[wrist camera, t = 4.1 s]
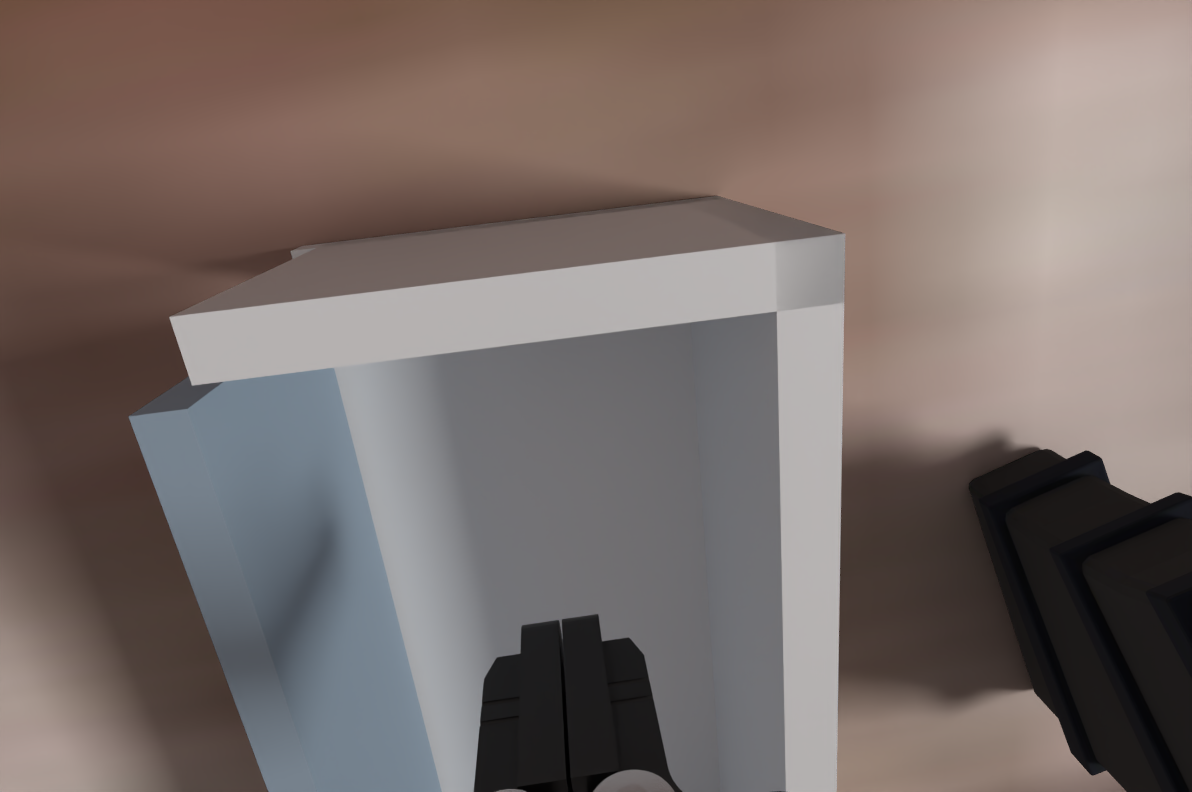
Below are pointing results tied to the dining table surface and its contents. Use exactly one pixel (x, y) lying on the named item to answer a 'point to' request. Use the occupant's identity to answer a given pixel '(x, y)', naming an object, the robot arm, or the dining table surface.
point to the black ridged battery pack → (1099, 610)
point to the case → (591, 456)
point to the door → (290, 579)
